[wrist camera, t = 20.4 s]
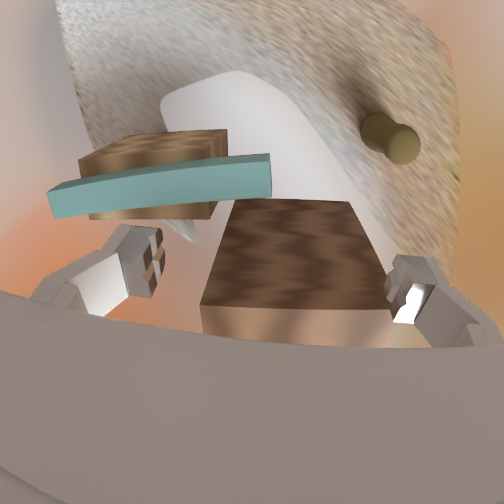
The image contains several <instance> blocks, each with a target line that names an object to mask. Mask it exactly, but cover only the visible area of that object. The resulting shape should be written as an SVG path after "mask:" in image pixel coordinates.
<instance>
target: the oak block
mask: <svg viewBox="0 0 504 504" xmlns="http://www.w3.org/2000/svg"><path fill="white" fill-rule="evenodd" d="M218 157H228V140H227V129H220V130H219V129H218V130H195V131H179V132H165V133H153V134H143V135H134V136H128V137H126V138H124V139H121V140H119V141H117V142H115V143H112V144H110V145H108V146H106V147H104V148H101V149H99V150H97V151H95V152H93V153H91V154H89V155H87V156H85V157H83V158H81V159H79V160H78V163H79V169H80V174H81V178H86V177H90V176H95V175H101V174H106V173H111V172H117V171H122V170H128V169H134V168H140V167H147V166H153V165H160V164H167V163H175V162H182V161H190V160H199V159H208V158H218ZM217 203H218V201H208V202H196V203H184V204H174V205H163V206H153V207H144V208H135V209H126V210H117V211H109V212H101V213H93V214H89V218H90V220H110V219H111V220H114V219H210V217H211V215H212V213H213V211H214V209H215V207H216V205H217Z"/></svg>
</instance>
